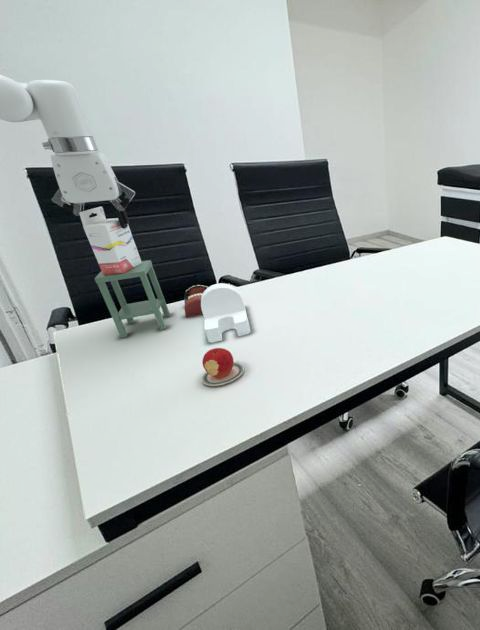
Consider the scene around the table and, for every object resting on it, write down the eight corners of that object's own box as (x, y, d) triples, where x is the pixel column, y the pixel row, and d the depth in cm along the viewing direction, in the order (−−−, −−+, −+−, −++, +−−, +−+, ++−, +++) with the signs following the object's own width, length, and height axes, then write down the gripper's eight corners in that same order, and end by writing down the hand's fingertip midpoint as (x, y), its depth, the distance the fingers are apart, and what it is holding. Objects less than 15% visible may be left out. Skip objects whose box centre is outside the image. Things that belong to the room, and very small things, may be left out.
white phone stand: (208, 343, 92) (195, 302, 88) (208, 315, 107) (196, 278, 102) (251, 333, 96) (240, 293, 91) (245, 307, 111) (235, 271, 106)
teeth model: (178, 298, 102) (180, 284, 112) (185, 319, 105) (186, 304, 115) (213, 292, 106) (212, 279, 116) (219, 313, 108) (217, 299, 118)
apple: (248, 377, 79) (240, 350, 76) (205, 392, 75) (195, 364, 72) (239, 360, 85) (231, 335, 82) (199, 374, 81) (189, 347, 78)
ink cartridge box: (124, 273, 92) (99, 211, 86) (102, 275, 92) (75, 212, 85) (143, 262, 100) (121, 204, 93) (123, 264, 99) (100, 205, 93)
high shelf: (120, 338, 97) (94, 278, 90) (128, 322, 105) (105, 266, 98) (166, 329, 100) (144, 271, 93) (170, 314, 109) (150, 260, 102)
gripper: (16, 150, 77) (57, 238, 85) (118, 144, 83) (147, 227, 91) (31, 148, 83) (68, 231, 91) (126, 144, 90) (152, 221, 98)
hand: (107, 228), depth 91 cm, fingers closed on ink cartridge box, 6 cm apart
